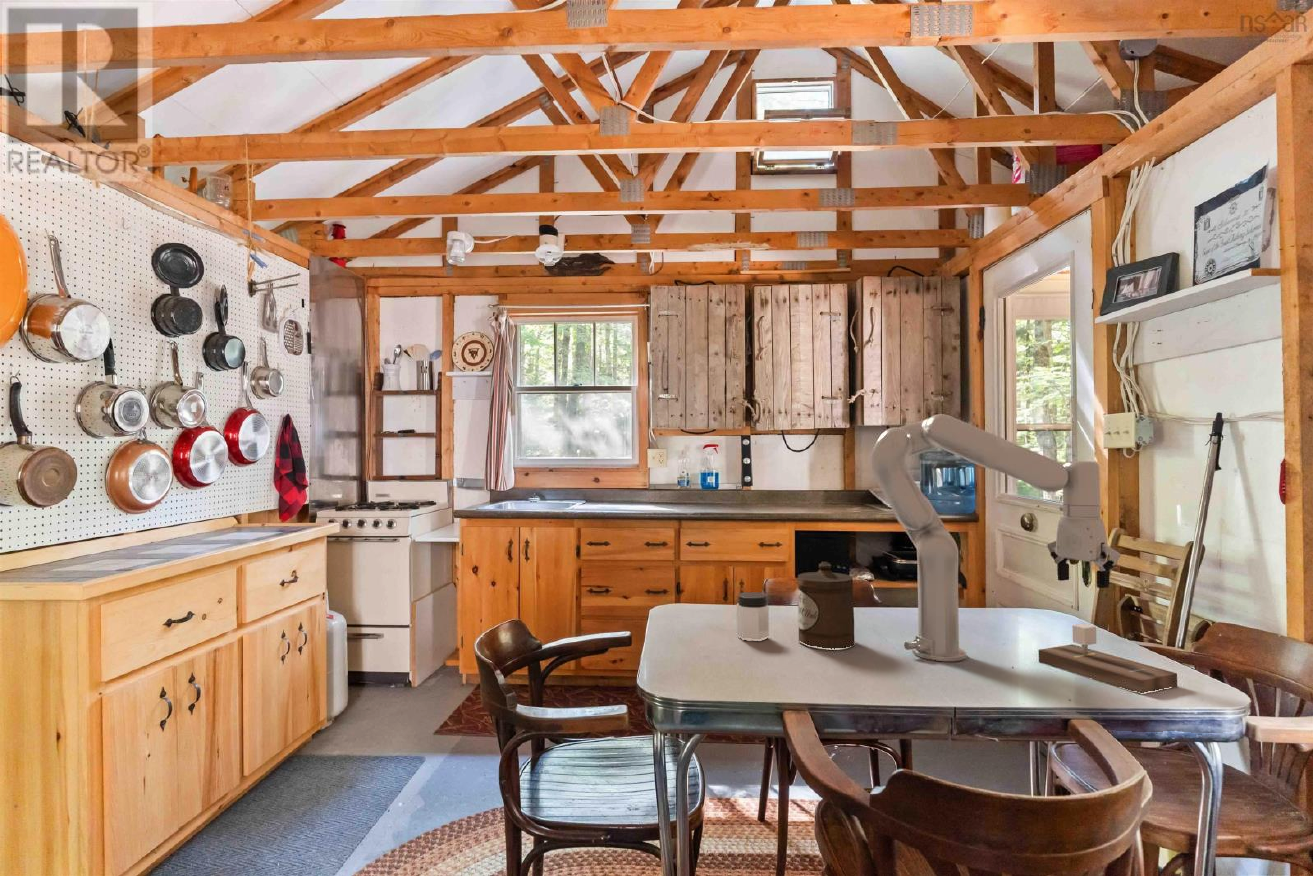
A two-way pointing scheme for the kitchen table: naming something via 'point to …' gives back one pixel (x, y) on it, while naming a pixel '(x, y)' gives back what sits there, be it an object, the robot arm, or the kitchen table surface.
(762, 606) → the jar
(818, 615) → the wooden container
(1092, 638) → the block
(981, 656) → the kitchen table surface
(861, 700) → the kitchen table surface
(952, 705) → the kitchen table surface
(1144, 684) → the control board
